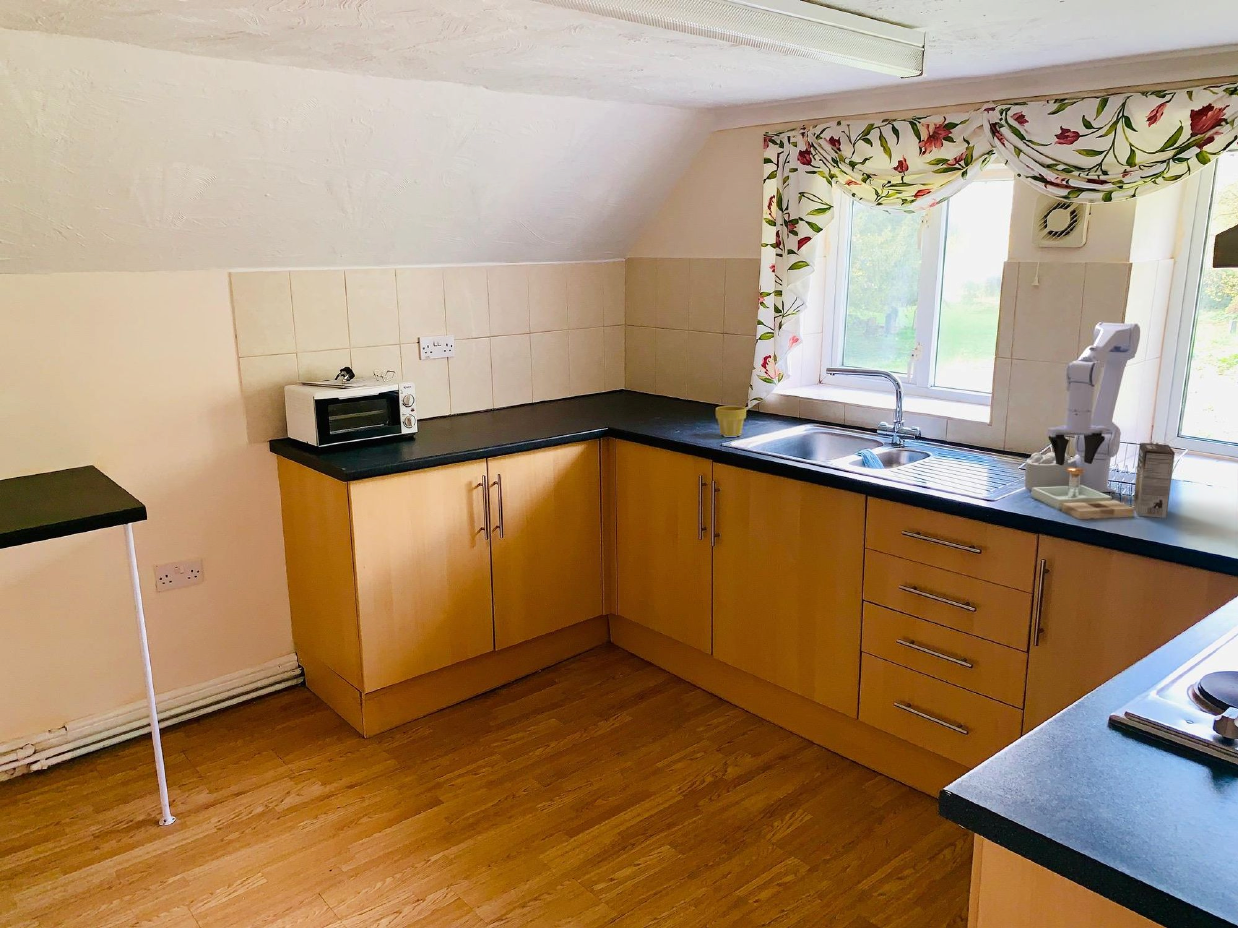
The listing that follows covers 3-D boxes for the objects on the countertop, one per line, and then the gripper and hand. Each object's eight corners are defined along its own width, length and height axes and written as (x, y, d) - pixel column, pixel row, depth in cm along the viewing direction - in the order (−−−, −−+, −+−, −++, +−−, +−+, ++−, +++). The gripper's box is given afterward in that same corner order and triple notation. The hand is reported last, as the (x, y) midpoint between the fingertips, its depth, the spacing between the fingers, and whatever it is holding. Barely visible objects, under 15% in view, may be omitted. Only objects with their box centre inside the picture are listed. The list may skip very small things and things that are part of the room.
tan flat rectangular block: (1061, 511, 229) (1062, 503, 229) (1114, 508, 231) (1115, 500, 231) (1079, 519, 223) (1080, 511, 222) (1133, 516, 225) (1134, 508, 224)
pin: (1070, 502, 235) (1073, 471, 233) (1060, 498, 239) (1063, 467, 237) (1084, 501, 236) (1088, 470, 234) (1074, 497, 239) (1078, 467, 238)
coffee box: (1131, 506, 233) (1139, 442, 230) (1161, 508, 231) (1169, 444, 227) (1136, 515, 225) (1144, 449, 221) (1167, 518, 223) (1175, 451, 219)
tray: (1030, 497, 242) (1031, 487, 242) (1081, 494, 244) (1082, 485, 244) (1058, 509, 231) (1059, 499, 230) (1110, 506, 233) (1112, 497, 232)
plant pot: (710, 434, 327) (710, 406, 325) (738, 432, 330) (738, 404, 328) (722, 440, 318) (723, 411, 315) (750, 437, 321) (751, 409, 318)
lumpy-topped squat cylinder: (1079, 486, 251) (1081, 454, 249) (1049, 494, 245) (1051, 462, 243) (1044, 479, 260) (1046, 448, 258) (1014, 487, 253) (1015, 455, 251)
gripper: (1061, 413, 228) (1056, 468, 231) (1116, 411, 229) (1110, 466, 232) (1044, 408, 234) (1039, 462, 237) (1098, 406, 236) (1093, 459, 239)
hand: (1073, 463), depth 235 cm, fingers open, 7 cm apart
